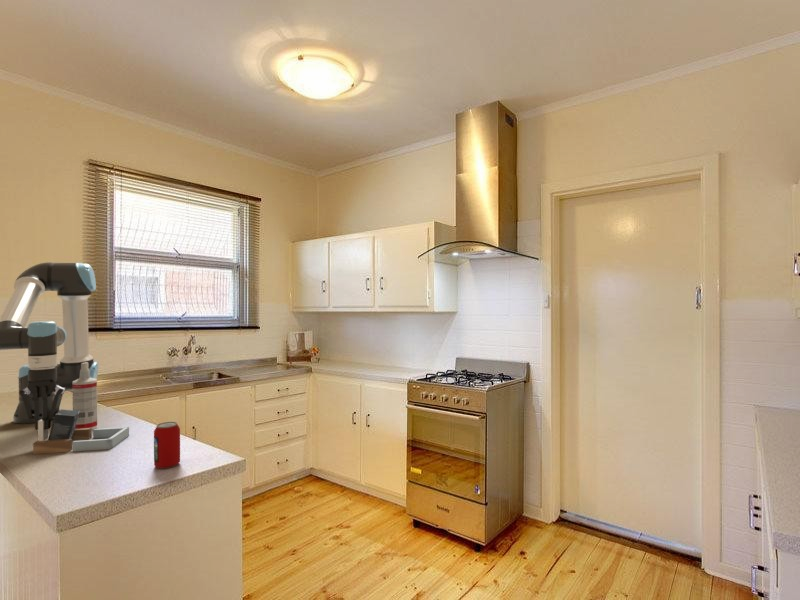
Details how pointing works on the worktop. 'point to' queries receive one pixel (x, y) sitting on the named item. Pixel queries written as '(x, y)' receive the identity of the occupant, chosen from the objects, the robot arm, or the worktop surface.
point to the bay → (111, 433)
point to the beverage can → (166, 445)
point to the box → (64, 425)
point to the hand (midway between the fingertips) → (43, 439)
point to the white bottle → (85, 399)
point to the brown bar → (61, 442)
